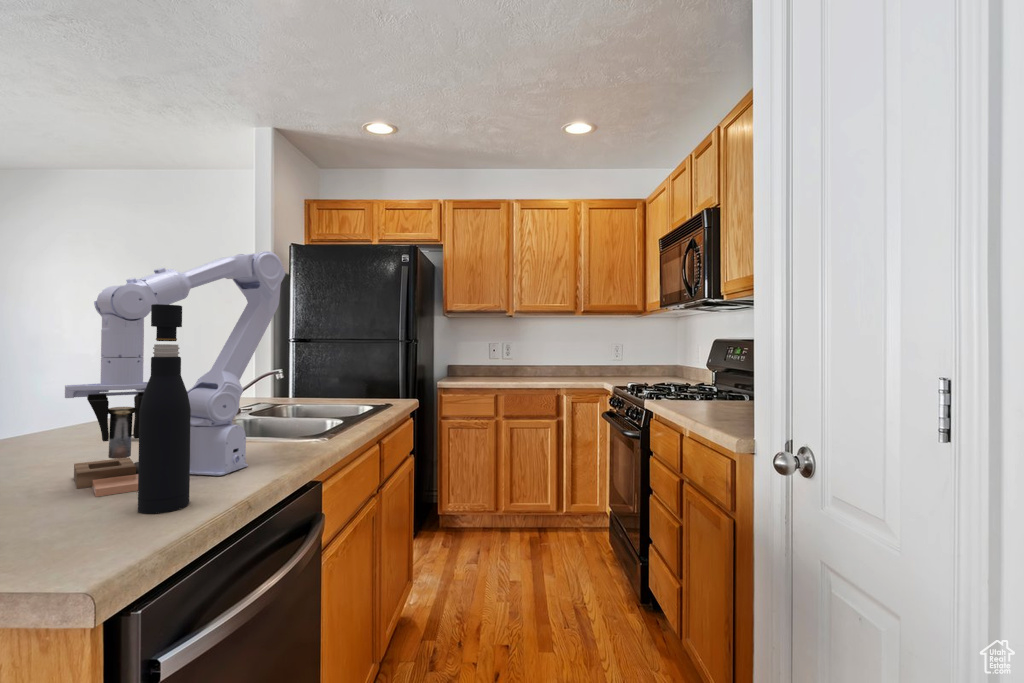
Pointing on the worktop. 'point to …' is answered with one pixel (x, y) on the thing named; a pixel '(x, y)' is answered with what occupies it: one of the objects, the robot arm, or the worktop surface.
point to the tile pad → (115, 485)
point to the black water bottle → (164, 423)
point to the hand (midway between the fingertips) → (121, 439)
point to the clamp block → (102, 470)
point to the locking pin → (120, 432)
